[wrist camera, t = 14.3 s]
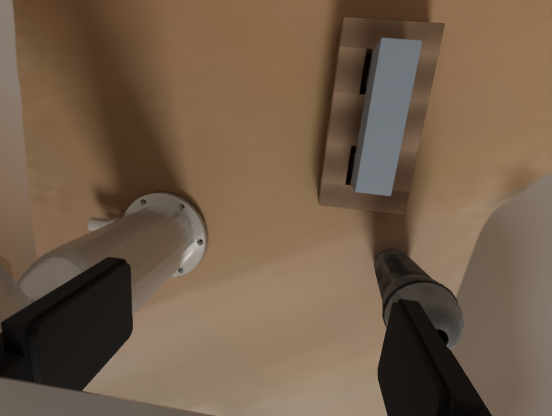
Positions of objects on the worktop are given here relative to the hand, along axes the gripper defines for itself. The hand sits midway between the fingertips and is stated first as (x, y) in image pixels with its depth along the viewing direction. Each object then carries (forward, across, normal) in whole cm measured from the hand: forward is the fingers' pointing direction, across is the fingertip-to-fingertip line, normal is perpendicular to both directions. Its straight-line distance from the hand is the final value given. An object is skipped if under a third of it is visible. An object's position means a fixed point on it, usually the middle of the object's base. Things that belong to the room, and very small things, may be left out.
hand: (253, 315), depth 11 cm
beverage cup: (+31, -14, +10) cm, 35 cm away
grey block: (+30, -8, -8) cm, 32 cm away
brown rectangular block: (+30, -8, -8) cm, 32 cm away
